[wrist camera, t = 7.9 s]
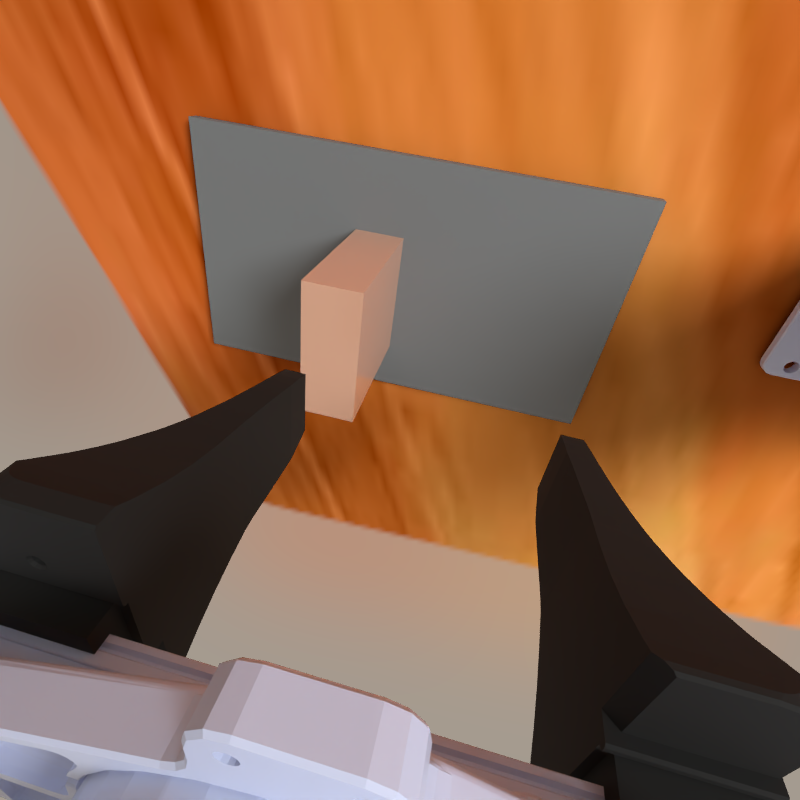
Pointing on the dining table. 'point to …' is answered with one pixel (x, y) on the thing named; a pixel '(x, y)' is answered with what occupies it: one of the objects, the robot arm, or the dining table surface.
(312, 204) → the mat
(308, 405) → the tile
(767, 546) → the dining table surface
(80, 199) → the dining table surface
